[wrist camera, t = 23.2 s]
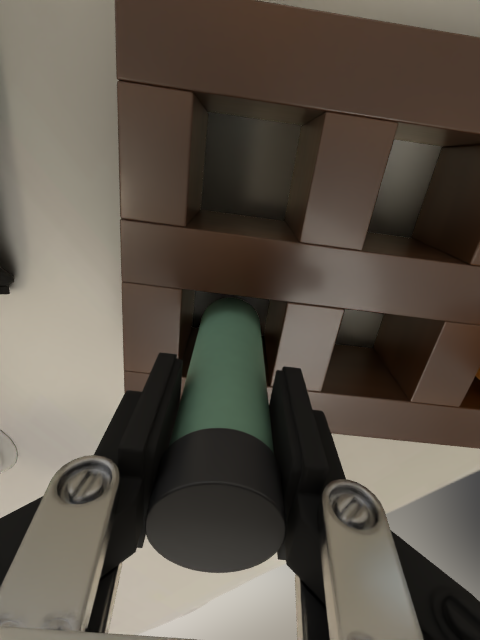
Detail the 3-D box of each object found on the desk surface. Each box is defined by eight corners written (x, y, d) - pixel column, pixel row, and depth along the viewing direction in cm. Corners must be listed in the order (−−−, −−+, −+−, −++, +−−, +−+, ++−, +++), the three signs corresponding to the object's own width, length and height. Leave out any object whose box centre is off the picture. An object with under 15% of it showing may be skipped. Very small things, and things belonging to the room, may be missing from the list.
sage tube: (201, 290, 15) (144, 475, 6) (266, 299, 16) (300, 490, 6) (197, 347, 17) (143, 567, 8) (256, 354, 17) (274, 578, 8)
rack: (155, 35, 14) (113, -25, 9) (657, 115, 15) (837, 95, 10) (150, 357, 20) (124, 412, 16) (497, 395, 22) (564, 458, 17)
